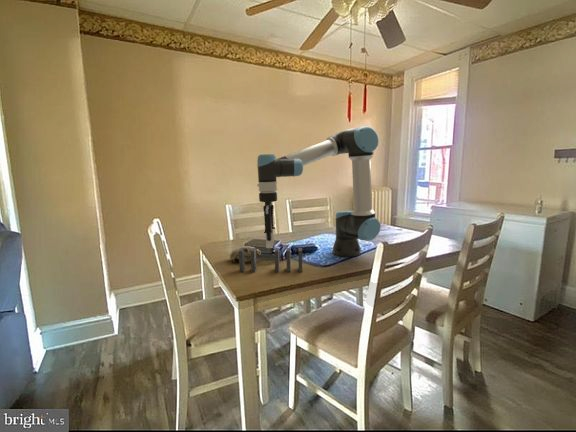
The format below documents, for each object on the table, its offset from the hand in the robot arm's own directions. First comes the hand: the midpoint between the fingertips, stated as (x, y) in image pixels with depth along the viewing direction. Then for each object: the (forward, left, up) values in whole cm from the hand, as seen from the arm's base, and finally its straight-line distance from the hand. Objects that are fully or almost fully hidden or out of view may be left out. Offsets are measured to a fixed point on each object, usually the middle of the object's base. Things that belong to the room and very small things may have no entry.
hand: (270, 245), depth 132 cm
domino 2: (+9, -8, -14) cm, 18 cm away
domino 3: (-2, -8, -14) cm, 16 cm away
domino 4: (-7, -8, -14) cm, 18 cm away
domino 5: (-13, -8, -14) cm, 20 cm away
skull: (+15, -22, -14) cm, 30 cm away
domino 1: (+14, -8, -14) cm, 21 cm away
